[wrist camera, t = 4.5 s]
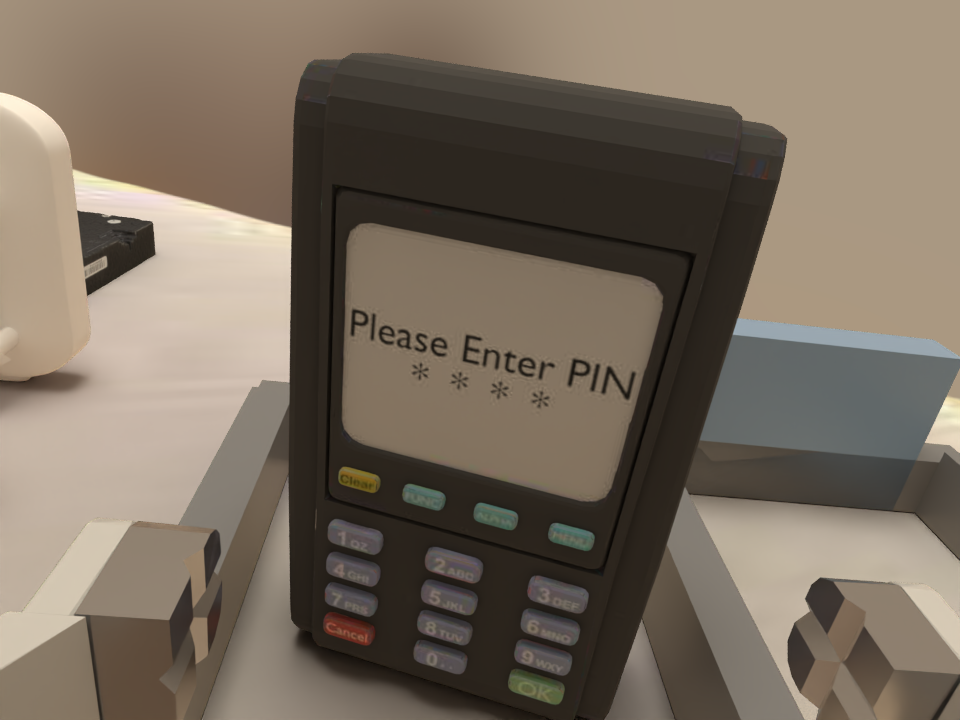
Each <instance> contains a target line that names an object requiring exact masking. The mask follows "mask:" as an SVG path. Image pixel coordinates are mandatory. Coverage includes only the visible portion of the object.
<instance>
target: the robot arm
mask: <svg viewBox="0 0 960 720" xmlns="http://www.w3.org/2000/svg"><path fill="white" fill-rule="evenodd" d="M220 555H221V543H220V533H219V532H218V531H217V530H216V529H211V528H201V527H192V526H182V525H172V524H163V523H153V522H143V521H137V522H134V521H127V520H117V519H107V518H96V519H94V520H92V521H90V522H89V523H87V524H86V525H85V526H84V528H83V529H82V531H81V532H80V533H79V535H78V536H77V537H76V539H75V540H74V541H73V543H72V544H71V546H70V547H69V548H68V550H67V551H66V552H65V554H64V555H63V556H62V558H61V559H60V561H59V562H58V563H57V565H56V566H55V567H54V569H53V570H52V571H51V573H50V574H49V575H48V577H47V578H46V580H45V581H44V582H43V584H42V585H41V586H40V588H39V589H38V590H37V592H36V593H35V595H34V596H33V597H32V599H31V600H30V601H29V603H28V604H27V605H26V607H25V608H24V609H23V611H22V612H9V611H8V612H6V613H4V614H3V615H1V616H0V720H183V719H184V716H185V714H186V711H187V709H188V706H189V704H190V701H191V698H192V696H193V693H194V691H195V688H196V686H197V683H196V664H197V663H199V662H200V661H201V660H203V659H204V658H205V657H207V656H208V654H209V652H210V649H211V646H212V643H213V641H214V638H215V635H216V630H217V626H218V622H219V617H220V613H221V602H222V580H221V579H220V578H219V577H218V575H217V574H216V573H215V572H214V570H215V567H216V565H217V563H218V560H219V558H220ZM805 600H806V602H807V605H808V607H809V609H810V612H809V613H807V614H806V615H805V616H803V617H802V618H800V619H799V620H798V621H796V622H795V623H794V626H793V628H792V631H791V633H790V636H789V639H788V664H789V667H790V671H791V675H792V678H793V680H794V682H795V684H796V686H797V688H798V690H799V692H800V693H801V694H802V695H803V696H804V697H805V698H807V699H808V700H809V701H810V702H811V703H813V704H814V705H815V706H816V707H817V708H819V709H818V714H817V718H816V720H960V618H959V616H958V615H957V614H956V613H955V612H954V611H953V609H952V608H951V607H950V606H949V605H948V604H947V603H946V601H945V600H944V599H943V598H942V597H941V596H940V594H939V593H938V592H937V591H936V590H934V589H932V588H931V587H929V586H927V585H925V584H917V583H900V582H888V583H885V582H874V581H860V580H846V579H833V578H819V579H818V580H817V581H816V582H814V583H813V584H812V585H811V587H810V589H809V592H808V594H807V596H806V598H805Z"/></svg>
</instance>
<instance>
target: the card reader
mask: <svg viewBox="0 0 960 720" xmlns="http://www.w3.org/2000/svg"><path fill="white" fill-rule="evenodd" d="M786 144H787V138H786V137H785V136H784V135H783V134H782V133H781V132H779V131H778V130H777V129H775V128H774V127H772V126H769V125H766V124H762V123H756V122H749V121H743V120H742V116H741V115H740V114H739V113H738V112H736V111H735V110H734V109H733V108H732V107H729V106H723V105H716V104H710V103H703V102H696V101H691V100H684V99H678V98H671V97H664V96H658V95H651V94H645V93H638V92H632V91H626V90H620V89H613V88H606V87H600V86H594V85H587V84H581V83H574V82H568V81H561V80H555V79H548V78H542V77H536V76H529V75H523V74H516V73H510V72H503V71H497V70H490V69H483V68H478V67H471V66H464V65H458V64H451V63H445V62H439V61H432V60H425V59H419V58H413V57H406V56H400V55H393V54H377V53H375V54H374V53H352V54H350V55H348V56H347V57H345V58H343V59H342V60H313V61H311V62H310V63H308V65H307V67H306V69H305V71H304V73H303V75H302V76H301V79H300V84H299V88H298V92H297V96H296V103H295V114H294V137H293V183H292V243H291V320H290V397H289V538H290V606H291V619H292V621H293V622H294V624H295V625H296V626H297V627H298V628H300V629H303V630H306V631H309V632H312V638H313V640H314V641H315V642H316V644H317V645H319V646H322V647H326V648H329V649H332V650H335V651H338V652H341V653H345V654H348V655H351V656H354V657H357V658H360V659H364V660H367V661H370V662H373V663H376V664H379V665H382V666H386V667H389V668H392V669H395V670H398V671H401V672H405V673H408V674H411V675H414V676H417V677H420V678H424V679H427V680H430V681H433V682H436V683H439V684H443V685H446V686H449V687H452V688H455V689H458V690H462V691H465V692H468V693H471V694H474V695H477V696H480V697H484V698H487V699H490V700H493V701H496V702H499V703H503V704H506V705H509V706H512V707H515V708H518V709H522V710H525V711H528V712H531V713H534V714H537V715H541V716H544V717H547V718H550V719H553V720H574V718H575V716H576V715H577V716H580V717H583V718H586V719H590V720H604V718H605V717H606V715H607V714H608V712H609V710H610V708H611V705H612V702H613V699H614V696H615V693H616V690H617V688H618V685H619V682H620V679H621V676H622V673H623V670H624V668H625V665H626V662H627V659H628V656H629V653H630V650H631V648H632V645H633V642H634V639H635V636H636V633H637V630H638V628H639V625H640V622H641V619H642V616H643V613H644V610H645V607H646V605H647V602H648V599H649V596H650V593H651V590H652V587H653V585H654V582H655V579H656V576H657V573H658V570H659V567H660V564H661V561H662V558H663V555H664V552H665V548H666V545H667V542H668V539H669V536H670V533H671V529H672V526H673V523H674V520H675V517H676V513H677V510H678V507H679V504H680V501H681V498H682V494H683V491H684V488H685V485H686V482H687V478H688V475H689V472H690V469H691V466H692V463H693V459H694V456H695V453H696V450H697V447H698V443H699V440H700V437H701V434H702V431H703V428H704V424H705V421H706V418H707V415H708V412H709V408H710V405H711V402H712V399H713V396H714V393H715V389H716V386H717V383H718V380H719V377H720V373H721V370H722V367H723V364H724V361H725V358H726V354H727V351H728V348H729V345H730V342H731V338H732V335H733V332H734V329H735V326H736V323H737V319H738V316H739V313H740V310H741V306H742V303H743V300H744V297H745V293H746V291H747V287H748V284H749V280H750V277H751V274H752V271H753V267H754V264H755V261H756V258H757V254H758V251H759V247H760V244H761V241H762V238H763V234H764V231H765V228H766V225H767V221H768V218H769V215H770V211H771V208H772V205H773V201H774V197H775V194H776V191H777V187H778V184H779V180H780V176H781V171H782V167H783V162H784V158H785V152H786Z"/></svg>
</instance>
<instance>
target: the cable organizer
mask: <svg viewBox="0 0 960 720" xmlns="http://www.w3.org/2000/svg"><path fill="white" fill-rule="evenodd" d="M90 334H91V326H90V318H89V309H88V300H87V292H86V283H85V275H84V266H83V257H82V249H81V240H80V231H79V223H78V214H77V206H76V197H75V188H74V180H73V171H72V163H71V155H70V148H69V144H68V141H67V139H66V136H65V134H64V133H63V131H62V130H61V128H60V127H59V126H58V124H57V123H55V121H54V120H53V119H52V118H51V117H50V116H49V115H47V114H46V113H45V112H44V111H42V110H41V109H39V108H38V107H36V106H35V105H33V104H31V103H29V102H27V101H25V100H23V99H20V98H18V97H15V96H12V95H9V94H5V93H0V380H4V381H16V382H20V381H26V380H29V379H30V378H31V377H32V376H39V375H44V374H48V373H51V372H53V371H55V370H58V369H59V368H61V367H62V366H64V365H65V364H66V363H67V362H68V361H69V360H71V359H72V358H73V357H74V356H75V355H76V354H77V353H78V352H80V351H81V350H82V349H83V348H84V347H85V346H86V344H87V342H88V341H89V338H90Z"/></svg>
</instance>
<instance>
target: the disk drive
mask: <svg viewBox="0 0 960 720" xmlns="http://www.w3.org/2000/svg"><path fill="white" fill-rule="evenodd" d="M77 214H78V223H79V231H80V240H81V249H82V257H83V266H84V275H85V283H86V292H87V296H88V295H89V294H91V293H92V292H94V291H96V290H97V289H99V288H101V287H102V286H104V285H106V284H108V283H109V282H111V281H113V280H114V279H116V278H117V277H119V276H121V275H123V274H124V273H126V272H127V271H129V270H131V269H133V268H134V267H136V266H137V265H139V264H141V263H142V262H143V261H145V260H147V259H148V258H150V257H152V256H154V255H155V242H154V231H153V223H152V222H151V221H142V220H139V219H135V218H127V217H118V216H107V215H104V214H100V213H91V212H81V211H77Z"/></svg>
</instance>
